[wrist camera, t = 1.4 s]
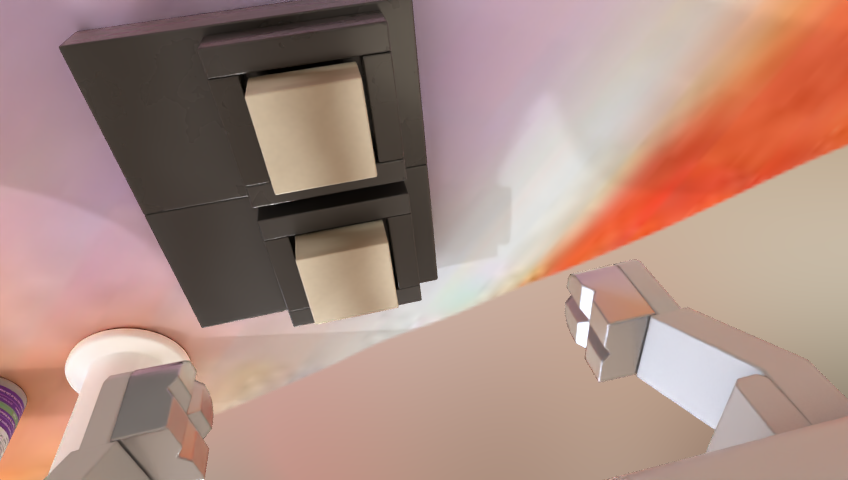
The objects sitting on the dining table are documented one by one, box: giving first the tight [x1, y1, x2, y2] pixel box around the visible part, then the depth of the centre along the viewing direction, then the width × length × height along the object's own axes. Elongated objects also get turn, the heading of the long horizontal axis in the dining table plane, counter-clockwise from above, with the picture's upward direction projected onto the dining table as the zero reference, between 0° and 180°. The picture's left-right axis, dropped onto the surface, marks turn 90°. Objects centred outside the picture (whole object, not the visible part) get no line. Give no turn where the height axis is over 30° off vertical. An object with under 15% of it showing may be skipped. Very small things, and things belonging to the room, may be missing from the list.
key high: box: [245, 61, 377, 195], centre depth 21 cm, size 4×4×2 cm
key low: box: [295, 220, 398, 325], centre depth 26 cm, size 4×4×2 cm
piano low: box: [145, 164, 438, 328], centre depth 28 cm, size 14×8×4 cm, turn 95°
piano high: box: [59, 0, 427, 214], centre depth 23 cm, size 14×8×4 cm, turn 95°
